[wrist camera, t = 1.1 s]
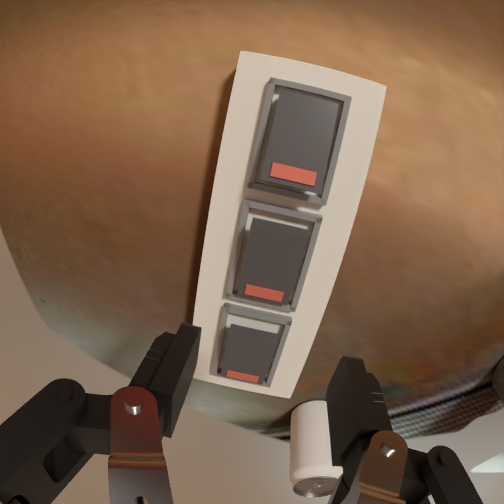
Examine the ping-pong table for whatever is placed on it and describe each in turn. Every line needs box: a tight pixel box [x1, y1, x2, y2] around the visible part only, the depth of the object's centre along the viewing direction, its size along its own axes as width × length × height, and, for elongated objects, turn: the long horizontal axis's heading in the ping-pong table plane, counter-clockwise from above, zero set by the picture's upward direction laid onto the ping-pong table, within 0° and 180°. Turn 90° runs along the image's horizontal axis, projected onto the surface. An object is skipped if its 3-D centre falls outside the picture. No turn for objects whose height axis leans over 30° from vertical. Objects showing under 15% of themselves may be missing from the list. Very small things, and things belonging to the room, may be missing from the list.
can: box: [290, 400, 343, 497], centre depth 33 cm, size 6×6×12 cm
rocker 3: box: [221, 324, 279, 385], centre depth 30 cm, size 4×7×1 cm, turn 169°
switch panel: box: [193, 51, 387, 398], centre depth 29 cm, size 12×33×4 cm, turn 169°
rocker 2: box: [237, 217, 309, 306], centre depth 26 cm, size 4×7×1 cm, turn 169°
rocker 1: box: [260, 90, 339, 194], centre depth 22 cm, size 4×7×1 cm, turn 168°
